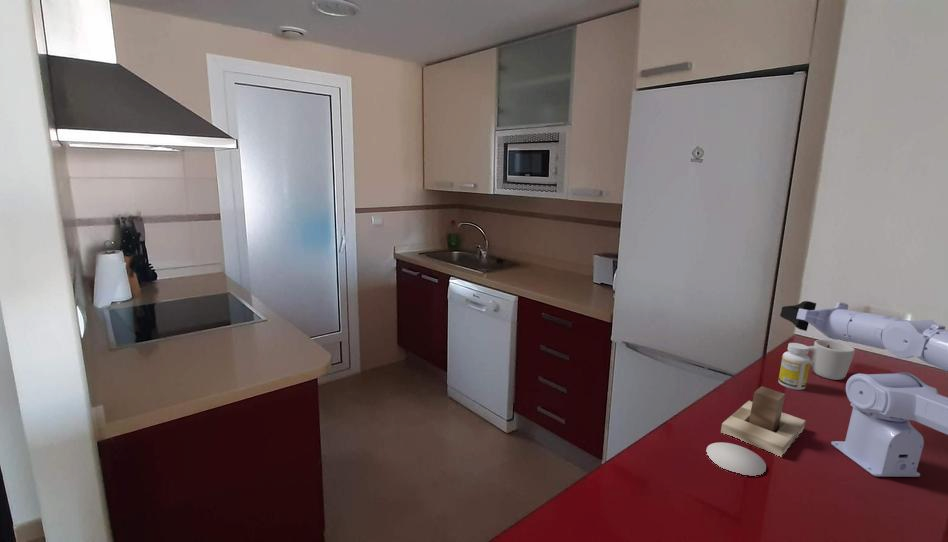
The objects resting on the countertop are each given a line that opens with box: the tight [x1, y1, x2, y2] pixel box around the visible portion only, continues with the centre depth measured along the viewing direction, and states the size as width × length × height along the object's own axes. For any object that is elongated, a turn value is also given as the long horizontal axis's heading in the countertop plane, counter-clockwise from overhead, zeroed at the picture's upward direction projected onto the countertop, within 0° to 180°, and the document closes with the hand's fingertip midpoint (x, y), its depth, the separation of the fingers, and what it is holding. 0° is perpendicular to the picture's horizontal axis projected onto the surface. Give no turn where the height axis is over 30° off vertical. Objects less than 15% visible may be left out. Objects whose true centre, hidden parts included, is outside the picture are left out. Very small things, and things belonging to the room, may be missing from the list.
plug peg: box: [749, 386, 786, 433], centre depth 89 cm, size 4×4×8 cm
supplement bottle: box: [777, 342, 811, 391], centre depth 109 cm, size 5×5×10 cm
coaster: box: [705, 441, 767, 477], centre depth 80 cm, size 9×9×1 cm
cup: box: [807, 339, 856, 381], centre depth 116 cm, size 11×8×8 cm
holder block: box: [720, 400, 806, 458], centre depth 89 cm, size 10×14×2 cm
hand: (798, 315), depth 97 cm, fingers open, 7 cm apart
